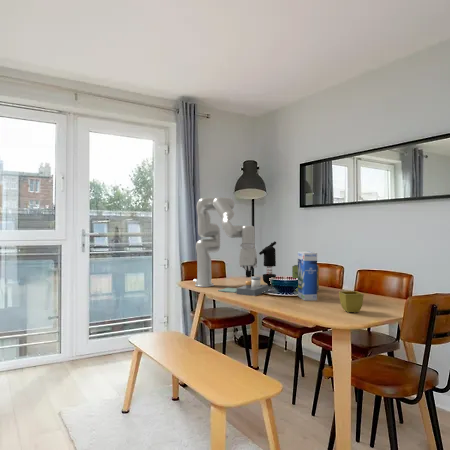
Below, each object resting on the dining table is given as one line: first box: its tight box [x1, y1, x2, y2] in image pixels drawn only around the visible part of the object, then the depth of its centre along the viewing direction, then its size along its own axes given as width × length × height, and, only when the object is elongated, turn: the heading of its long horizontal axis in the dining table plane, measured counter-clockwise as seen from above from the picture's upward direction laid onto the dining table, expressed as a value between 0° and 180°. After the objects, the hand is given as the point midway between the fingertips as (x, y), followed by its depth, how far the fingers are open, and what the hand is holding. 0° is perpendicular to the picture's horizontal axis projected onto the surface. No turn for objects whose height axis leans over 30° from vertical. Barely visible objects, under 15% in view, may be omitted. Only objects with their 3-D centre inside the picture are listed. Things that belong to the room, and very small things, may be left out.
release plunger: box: [245, 280, 252, 289], centre depth 229 cm, size 4×4×6 cm
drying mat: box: [217, 287, 238, 294], centre depth 241 cm, size 12×12×1 cm
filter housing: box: [236, 284, 270, 297], centre depth 233 cm, size 12×19×4 cm, turn 148°
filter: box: [258, 241, 277, 287], centre depth 258 cm, size 14×9×30 cm
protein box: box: [291, 264, 320, 293], centre depth 240 cm, size 10×15×16 cm
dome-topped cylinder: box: [250, 276, 261, 287], centre depth 237 cm, size 6×6×9 cm
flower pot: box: [338, 290, 365, 313], centre depth 180 cm, size 9×9×9 cm
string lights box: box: [297, 250, 318, 302], centre depth 214 cm, size 13×8×26 cm, turn 5°
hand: (248, 277), depth 228 cm, fingers closed
